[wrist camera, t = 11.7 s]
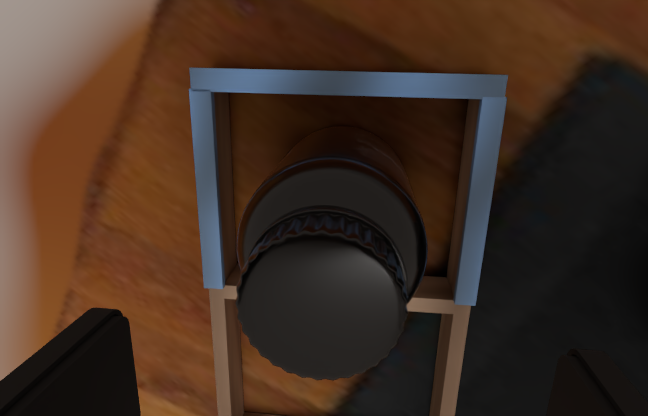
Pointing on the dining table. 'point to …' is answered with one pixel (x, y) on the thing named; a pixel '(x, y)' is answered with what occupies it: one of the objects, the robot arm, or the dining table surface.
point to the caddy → (433, 292)
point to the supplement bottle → (330, 256)
